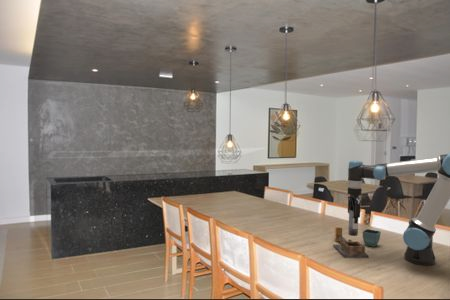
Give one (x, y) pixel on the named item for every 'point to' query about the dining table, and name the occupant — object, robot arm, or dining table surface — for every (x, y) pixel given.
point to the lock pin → (339, 234)
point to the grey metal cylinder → (352, 231)
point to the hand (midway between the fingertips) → (353, 227)
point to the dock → (351, 249)
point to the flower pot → (371, 237)
